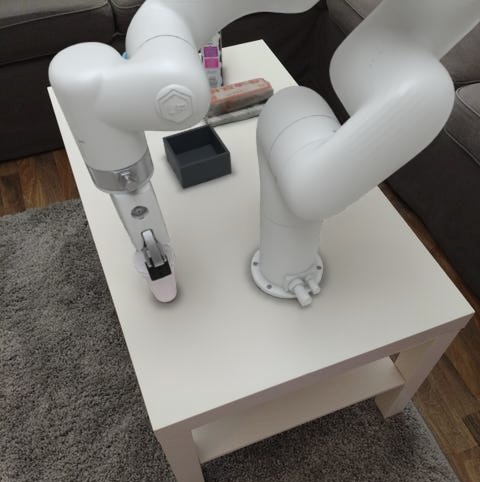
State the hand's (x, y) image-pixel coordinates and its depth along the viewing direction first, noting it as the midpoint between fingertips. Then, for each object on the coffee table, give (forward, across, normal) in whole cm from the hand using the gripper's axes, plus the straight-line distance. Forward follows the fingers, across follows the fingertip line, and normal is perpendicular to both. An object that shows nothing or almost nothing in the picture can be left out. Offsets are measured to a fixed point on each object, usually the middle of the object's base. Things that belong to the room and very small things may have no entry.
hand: (153, 259), depth 67 cm
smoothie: (+9, 0, 0) cm, 9 cm away
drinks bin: (+10, +29, -17) cm, 35 cm away
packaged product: (+11, +44, -33) cm, 56 cm away
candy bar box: (+11, +57, -32) cm, 66 cm away
